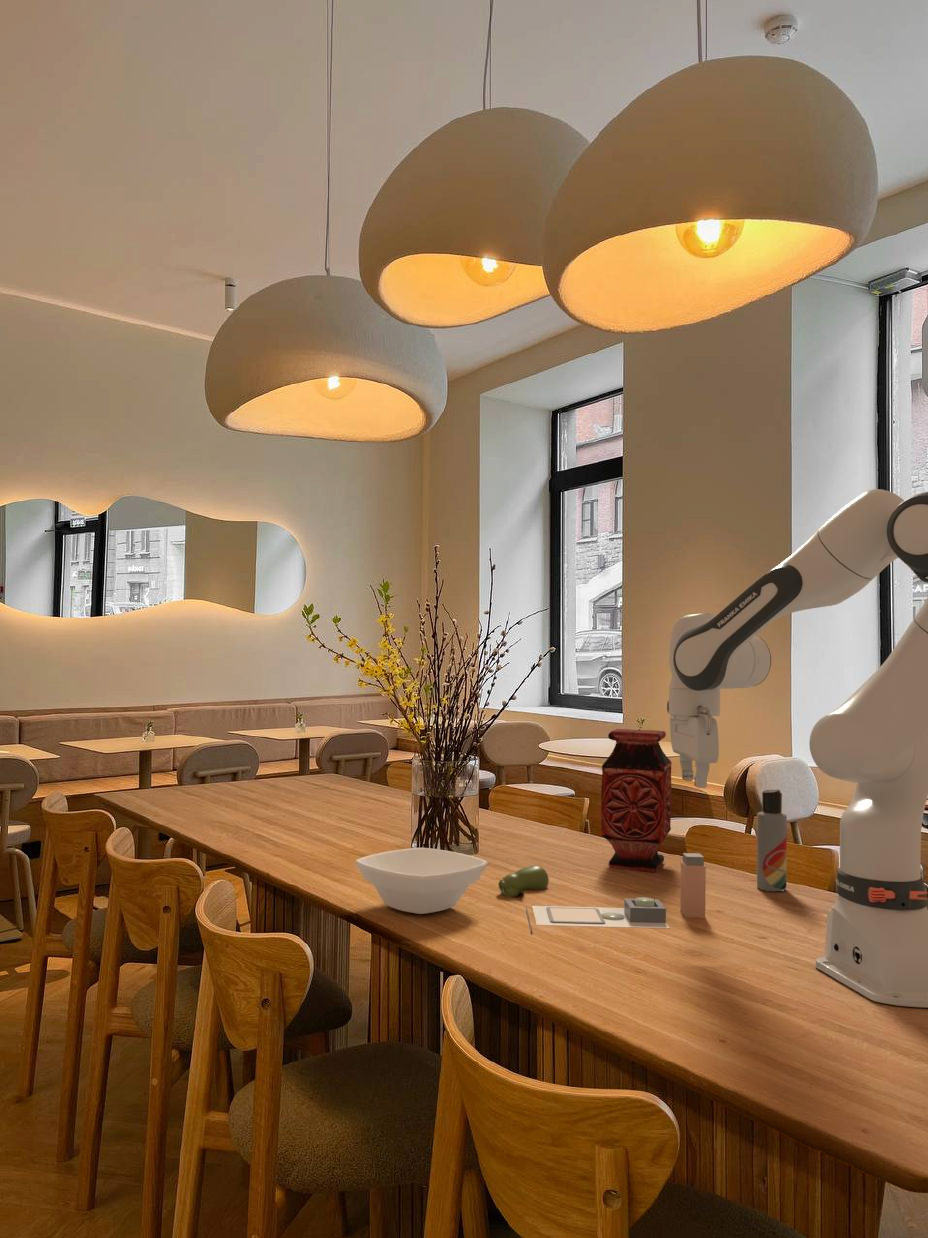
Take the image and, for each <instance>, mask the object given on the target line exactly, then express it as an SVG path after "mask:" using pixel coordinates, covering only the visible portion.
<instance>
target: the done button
mask: <svg viewBox="0 0 928 1238" xmlns="http://www.w3.org/2000/svg"><path fill="white" fill-rule="evenodd" d="M634 899H635V906H642V907H654V899H653V898H650V897H636V898H634Z"/></svg>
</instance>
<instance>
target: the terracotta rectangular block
mask: <svg viewBox="0 0 928 1238" xmlns="http://www.w3.org/2000/svg"><path fill="white" fill-rule="evenodd" d="M706 868H707V867H706V865H705V857H704V856H703V855H702V854H701V853H700V852H699V853H695V852H693V853H691V852H688V853H687V852H682V860H681V861H680V904H679V905H680V906H679V907H680V909H679V911H680V913H681V914H682V915H683V917H684V918H703V919H705V918H706V884H707V883H706V880H707V879H706V878H707V876H706V874H707V872H706V871H707V870H706Z"/></svg>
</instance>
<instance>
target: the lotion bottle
mask: <svg viewBox="0 0 928 1238" xmlns="http://www.w3.org/2000/svg"><path fill="white" fill-rule="evenodd" d="M761 794H762V795H761V796H762V798H761V800H762V801H761V802H762V803H761V804H762V808H761V809H762V811H759V812H757V814H756V815H757V817H756V818H757V819H756V825H757V826H756V835H757V836H756V887H757V889H758V888H759V889H758V890H760V889H762V890H761V891H763V890H767V891H766V892H769V891H782V890H785V891H786V890H787V876H788V875H787V859H788V857H787V856H788V855H787V853H788V852H787V849H788V847H787V845H788V842H787V841H788V839H787V835H788V833H787V832H788V831H787V829H788V828H787V826H788V822H787V821H788V819H787V818H788V817H787V814H785V813H783V810H782V809H783V808H782V807H783V796H782V795H783V793H782V792H781V790H780V789H766V790H763V791H762V792H761Z"/></svg>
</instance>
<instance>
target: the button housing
mask: <svg viewBox="0 0 928 1238" xmlns="http://www.w3.org/2000/svg"><path fill="white" fill-rule="evenodd" d="M635 899H636V898H624V900H623V901H624V903H623V904H624V905H623V906H624V907H623V908H624V913H625V915H626V916H627V918H628V919H629V921H630V922H644V923H666V924H667V920H666V919H667V909H666V907H665V905H664V904H663V903H662V902H661V900H660V899H654V907H642V906H635Z"/></svg>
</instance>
